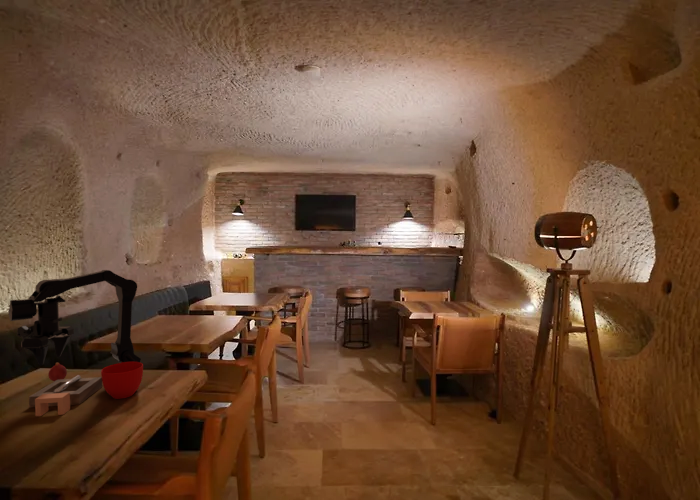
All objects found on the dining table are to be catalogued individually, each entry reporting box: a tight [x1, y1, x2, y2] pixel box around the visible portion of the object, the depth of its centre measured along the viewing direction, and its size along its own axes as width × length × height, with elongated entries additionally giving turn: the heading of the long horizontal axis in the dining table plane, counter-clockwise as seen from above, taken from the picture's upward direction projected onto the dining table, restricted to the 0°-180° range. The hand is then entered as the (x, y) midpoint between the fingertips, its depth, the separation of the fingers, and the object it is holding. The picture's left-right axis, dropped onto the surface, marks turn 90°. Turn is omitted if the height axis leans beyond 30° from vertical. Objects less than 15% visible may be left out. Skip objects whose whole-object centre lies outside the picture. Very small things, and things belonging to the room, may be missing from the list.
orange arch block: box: [34, 393, 71, 417], centre depth 128 cm, size 8×4×6 cm, turn 98°
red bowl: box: [100, 361, 144, 400], centre depth 144 cm, size 13×17×10 cm
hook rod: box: [53, 374, 82, 393], centre depth 141 cm, size 2×14×2 cm, turn 8°
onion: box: [47, 362, 68, 382], centre depth 155 cm, size 6×6×8 cm
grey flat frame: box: [28, 376, 103, 408], centre depth 141 cm, size 15×16×4 cm
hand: (50, 360), depth 139 cm, fingers open, 9 cm apart
